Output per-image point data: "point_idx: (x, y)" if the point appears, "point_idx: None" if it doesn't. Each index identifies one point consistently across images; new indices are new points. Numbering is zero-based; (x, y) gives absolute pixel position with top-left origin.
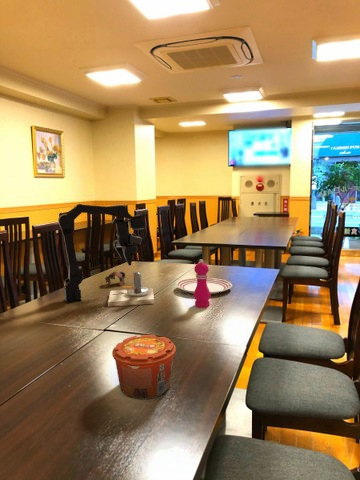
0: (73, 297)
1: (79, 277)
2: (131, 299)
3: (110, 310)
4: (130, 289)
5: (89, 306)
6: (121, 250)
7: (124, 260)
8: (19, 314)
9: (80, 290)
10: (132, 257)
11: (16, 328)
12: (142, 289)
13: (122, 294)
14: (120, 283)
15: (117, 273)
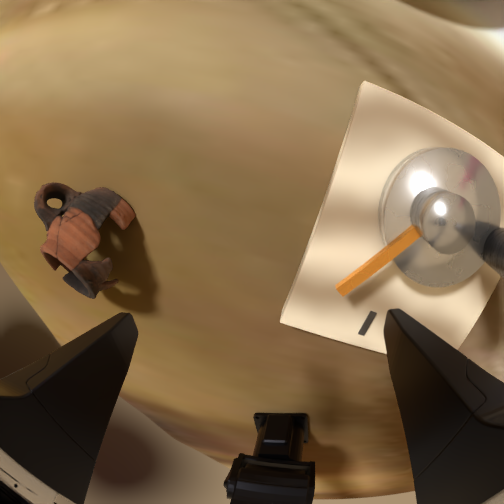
0: (303, 441)
1: (313, 496)
2: (488, 277)
3: (478, 354)
4: (424, 262)
5: (389, 402)
6: (60, 438)
7: (131, 316)
8: (325, 490)
9: (287, 440)
10: (487, 373)
11: (406, 486)
12: (466, 196)
13: (392, 292)
14: (127, 221)
15: (69, 244)
